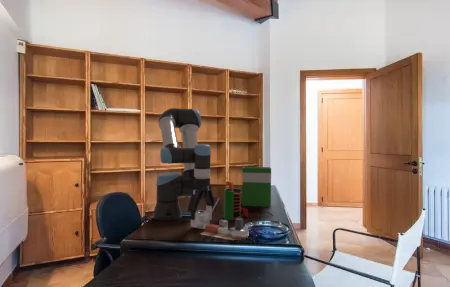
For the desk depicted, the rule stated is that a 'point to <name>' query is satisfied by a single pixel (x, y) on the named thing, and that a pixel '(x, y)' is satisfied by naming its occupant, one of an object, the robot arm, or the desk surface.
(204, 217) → the socket
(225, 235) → the tool board
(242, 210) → the glasses
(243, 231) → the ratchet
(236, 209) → the motor
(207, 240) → the desk surface
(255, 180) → the hardback book
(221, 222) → the socket
